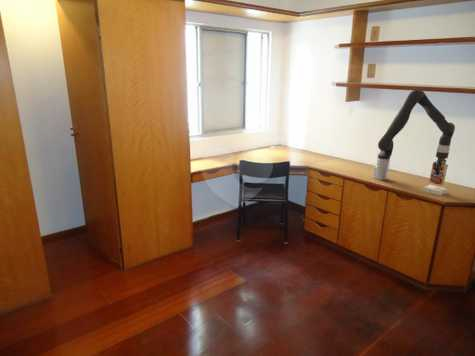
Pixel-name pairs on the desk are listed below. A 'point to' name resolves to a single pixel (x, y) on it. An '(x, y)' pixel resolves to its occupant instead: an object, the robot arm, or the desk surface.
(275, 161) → the desk surface
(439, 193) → the plinth
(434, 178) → the candy box
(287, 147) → the desk surface
